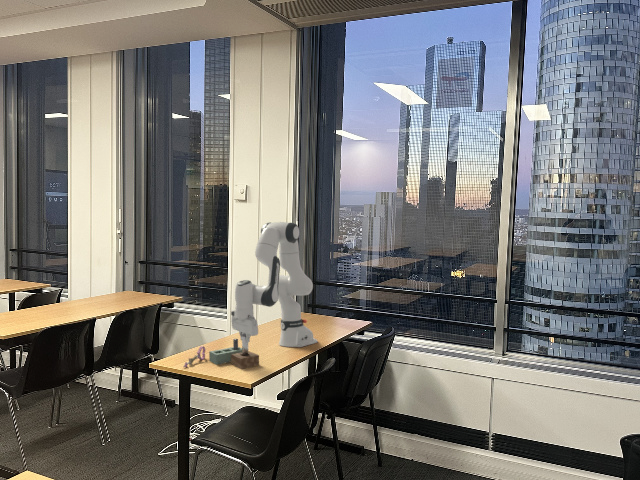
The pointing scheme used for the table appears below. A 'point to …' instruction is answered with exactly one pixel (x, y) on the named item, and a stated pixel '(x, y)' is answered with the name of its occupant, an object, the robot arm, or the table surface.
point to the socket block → (245, 360)
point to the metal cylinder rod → (244, 345)
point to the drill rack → (222, 355)
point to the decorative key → (196, 356)
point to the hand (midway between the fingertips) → (245, 341)
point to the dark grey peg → (235, 344)
